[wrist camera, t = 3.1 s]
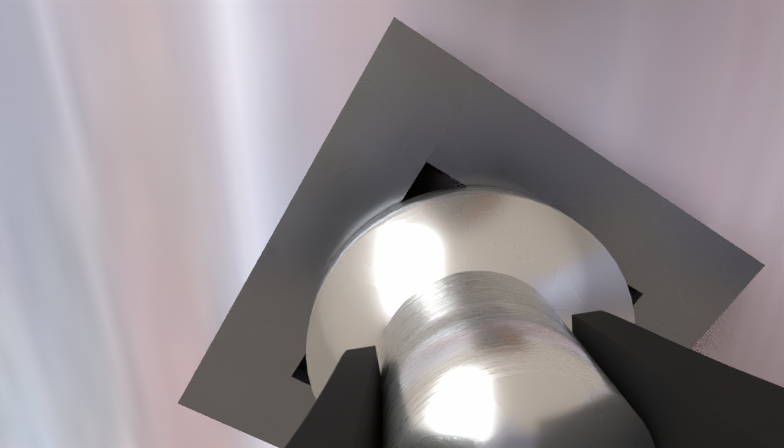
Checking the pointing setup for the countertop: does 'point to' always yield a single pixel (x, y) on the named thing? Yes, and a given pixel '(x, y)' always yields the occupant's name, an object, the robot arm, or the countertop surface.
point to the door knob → (477, 323)
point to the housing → (472, 168)
